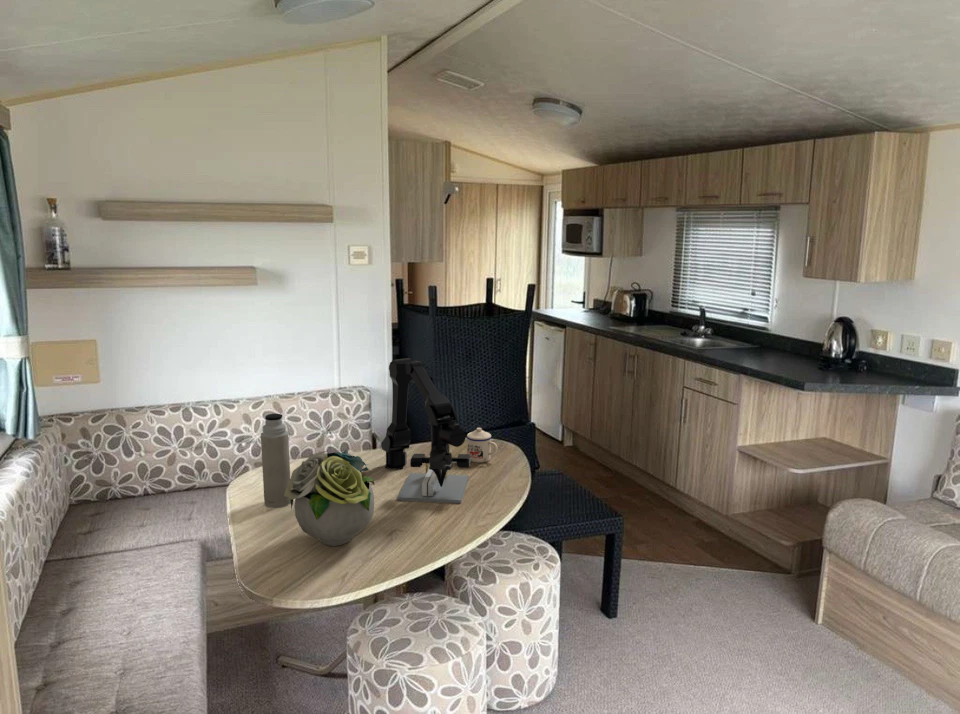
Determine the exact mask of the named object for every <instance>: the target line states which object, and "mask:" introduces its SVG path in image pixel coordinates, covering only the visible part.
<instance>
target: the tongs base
mask: <svg viewBox="0 0 960 714" xmlns="http://www.w3.org/2000/svg"><path fill="white" fill-rule="evenodd" d="M433 472H434V471H433V470H430V469H428V472H427V474H426V473H419V472H418V473H417V472H410V473H409V475H408V477H407V478H406V480H405V482H404V484H403V486H402V488H401V489H400V492H399V493H398V495H397V501H404V502H405V501H406V502H422V503H423V502H424V503H425V502H426V503H431V502H432V503H446V504H447V503H448V504H449V503H450V504H451V503H452V504H462V502H463V499H464V494H465V493H466V491H465V490H466V488H467V485H468V482H469V475H468V474H467V475H465V474H448V475H447V478H445V479H444V482H443V486H442V487H441V486H440V484H439V482H438V485H437V487H436V490H435V492H434V494H433V496H428V483H429V480H430V478H431V476H432V474H433Z"/></svg>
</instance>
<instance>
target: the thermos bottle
mask: <svg viewBox="0 0 960 714" xmlns="http://www.w3.org/2000/svg"><path fill="white" fill-rule="evenodd" d="M264 417H265V424H264V425H263V426H262V432H261V433H260V446H261V465H262V481H263V483H262V484H263V485H262V486H263V498H264V506H265V507H267V508H269V509H279V508H284V507H287V506H289V505H291V502H290V498H289V497H286V496H284V494H285V490H286V488H287V486H288V484H289V481H290V479H291V465H290V464H291V463H290V446H289V445H290V444H289V443H290V442H289V431H287V430H286V429H287V427H286V424H285V423H283V414H281V413H268V414H266V415H265V416H264Z"/></svg>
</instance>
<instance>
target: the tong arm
mask: <svg viewBox="0 0 960 714" xmlns="http://www.w3.org/2000/svg"><path fill="white" fill-rule="evenodd" d="M438 482H439V481H438V479H437V476H436V474H435V473H434V472H433V474H432V476H431V478H430V480H429V483H428V496H433V494H434V492H435V490H436V487H437V485H438Z"/></svg>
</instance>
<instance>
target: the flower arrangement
mask: <svg viewBox="0 0 960 714" xmlns="http://www.w3.org/2000/svg"><path fill="white" fill-rule="evenodd" d="M327 451H328V450H324V451H319V452H318V451H317V452H316V453H311V454H310V455H309V457H308V458H306V460H302V461H301V464H300V465H299V466H298V467H296V468H295V469H294V470H293V471H292V473H291V474H290V481H289V484H288V486H287V488H286V490H285V494H284V496H286V497H289V498H290V502H291V503H290V509H291V510H290V511H291V512H292V511H293V507H294V517H295V519H296V522H297V523H298V525H299V527H300V529H301V530H302V532H304V533H306V534H307V535H309V536H311V537H313V538H315V539H318V540H319V541H320V542H321V543H322V544H323V545H326V546H331V547H332V546H333V547H334V546H335V547H337V546H341V545H344V544H347V543H349V542H350V541H351V540H353V537H354V536H356V535H358V534H360V533H361V532H362V531H363V530H364V529H366V527H368V525H369V524H371V522H372V519H373V516H374V512H375V494H374V490H373V486H375V481H374V479H373V478H372V477H369V476H365V475H362V472H367V471H369V470H370V469H369V467H368V464H366V462H365V461H363V459H362V458H361V456H359V455H352V454H349V451H348V450H347V449H345V450H344V451H343V450H341V452H327ZM364 466H365V467H364ZM362 467H363V468H362ZM361 468H362V469H361ZM369 482H370V483H371V484H372V485H373V486H371V484H370V483H369ZM294 500H295V501H294ZM293 505H294V506H293Z"/></svg>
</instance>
